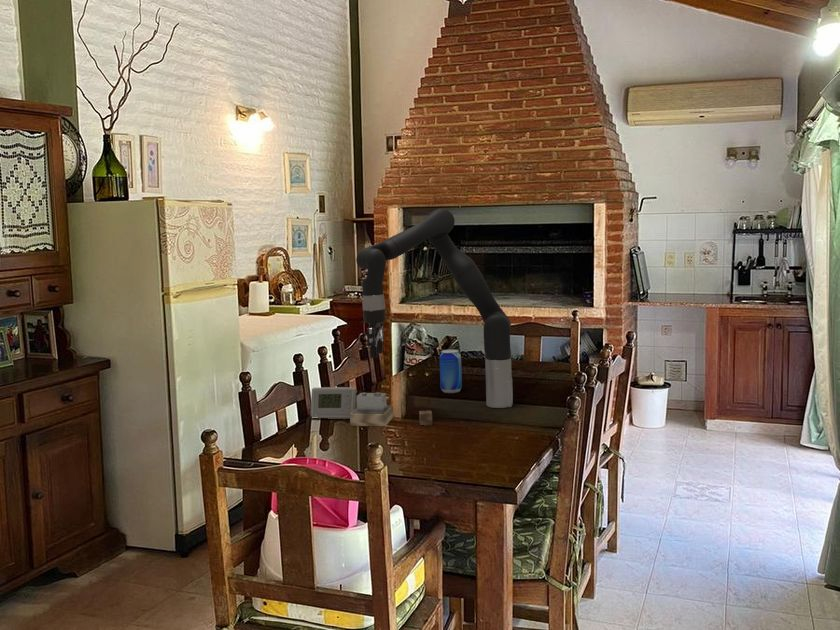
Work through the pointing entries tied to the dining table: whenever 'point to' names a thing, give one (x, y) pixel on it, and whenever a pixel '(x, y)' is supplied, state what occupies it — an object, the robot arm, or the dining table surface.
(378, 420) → the stand
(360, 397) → the housing
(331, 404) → the digital clock
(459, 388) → the beer can
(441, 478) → the dining table surface
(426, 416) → the walnut block
